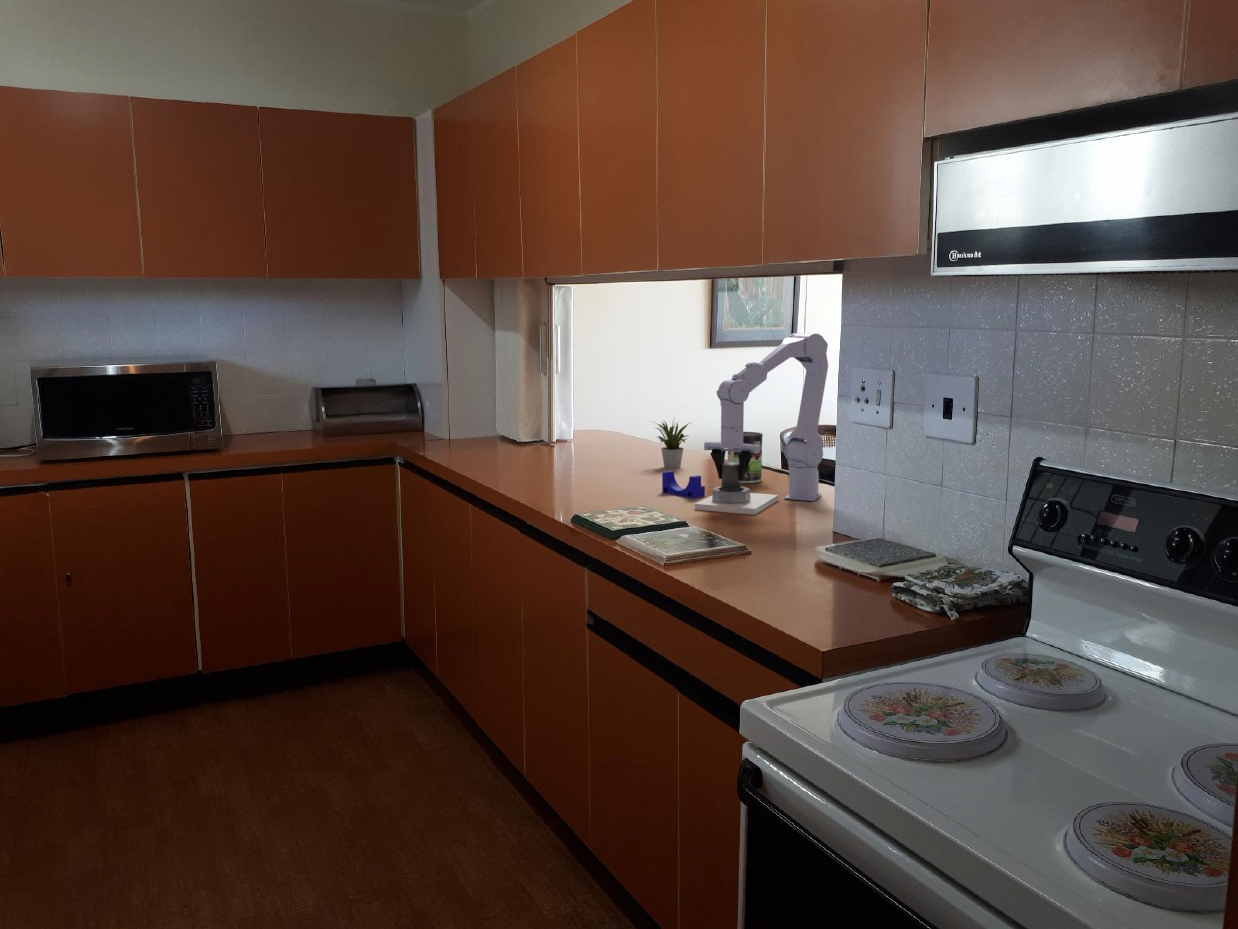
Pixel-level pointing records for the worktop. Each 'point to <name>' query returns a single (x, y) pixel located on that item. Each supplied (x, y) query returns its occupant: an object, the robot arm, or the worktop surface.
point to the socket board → (739, 508)
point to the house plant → (672, 445)
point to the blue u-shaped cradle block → (690, 491)
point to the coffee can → (756, 461)
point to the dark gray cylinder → (730, 475)
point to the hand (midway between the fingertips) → (731, 479)
